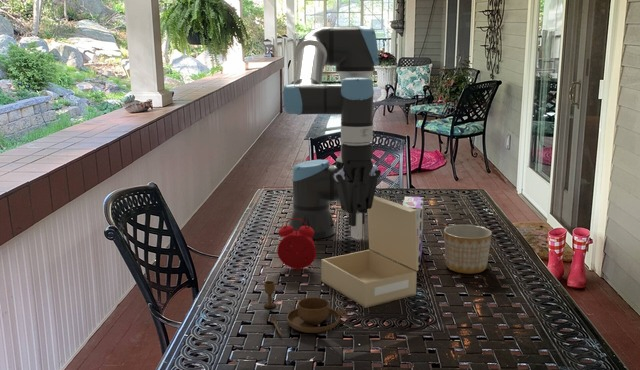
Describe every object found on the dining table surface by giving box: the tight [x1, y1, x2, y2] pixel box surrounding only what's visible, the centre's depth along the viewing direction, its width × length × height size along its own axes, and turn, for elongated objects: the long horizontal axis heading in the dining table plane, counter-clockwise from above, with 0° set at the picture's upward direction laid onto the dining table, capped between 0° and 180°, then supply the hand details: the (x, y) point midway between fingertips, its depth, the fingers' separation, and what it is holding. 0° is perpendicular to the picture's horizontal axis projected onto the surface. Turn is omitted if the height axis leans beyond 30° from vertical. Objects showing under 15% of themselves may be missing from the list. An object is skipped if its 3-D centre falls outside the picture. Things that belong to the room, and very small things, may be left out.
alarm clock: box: [277, 218, 317, 271], centre depth 173 cm, size 10×6×15 cm, turn 84°
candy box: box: [401, 196, 424, 266], centre depth 183 cm, size 14×6×16 cm, turn 168°
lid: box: [367, 195, 419, 272], centre depth 162 cm, size 20×15×2 cm
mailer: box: [320, 249, 418, 309], centre depth 161 cm, size 20×15×6 cm
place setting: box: [263, 280, 350, 336], centre depth 146 cm, size 18×20×6 cm
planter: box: [443, 224, 493, 275], centre depth 175 cm, size 13×13×10 cm
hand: (356, 237), depth 158 cm, fingers closed
